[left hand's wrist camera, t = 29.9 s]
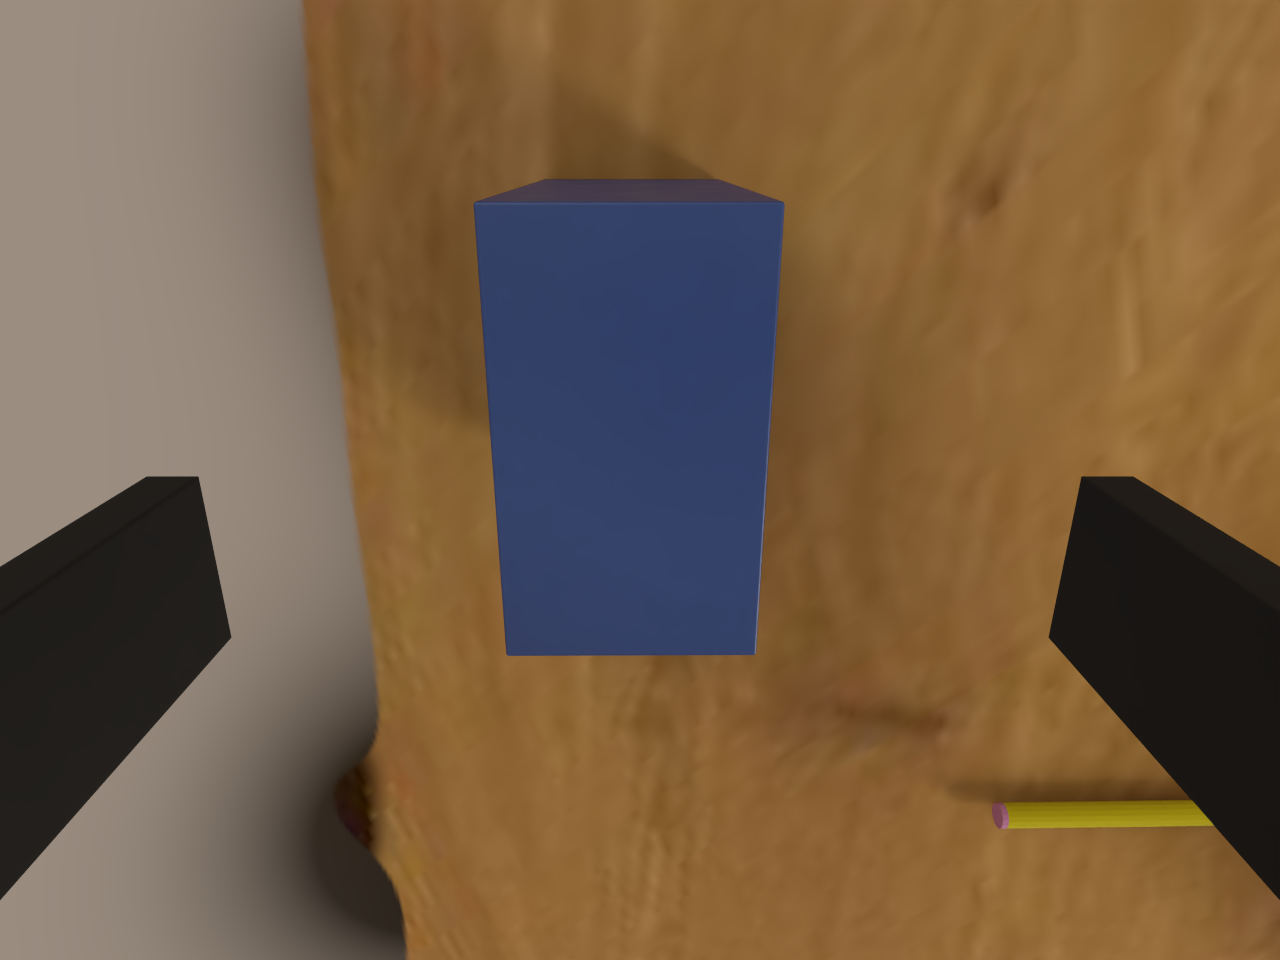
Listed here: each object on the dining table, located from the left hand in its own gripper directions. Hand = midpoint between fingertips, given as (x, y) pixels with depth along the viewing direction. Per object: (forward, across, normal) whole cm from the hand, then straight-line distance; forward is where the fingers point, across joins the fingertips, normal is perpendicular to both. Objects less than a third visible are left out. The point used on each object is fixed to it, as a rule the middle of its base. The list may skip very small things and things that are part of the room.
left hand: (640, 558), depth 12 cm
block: (+15, 0, +1) cm, 15 cm away
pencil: (+16, +23, -19) cm, 34 cm away
